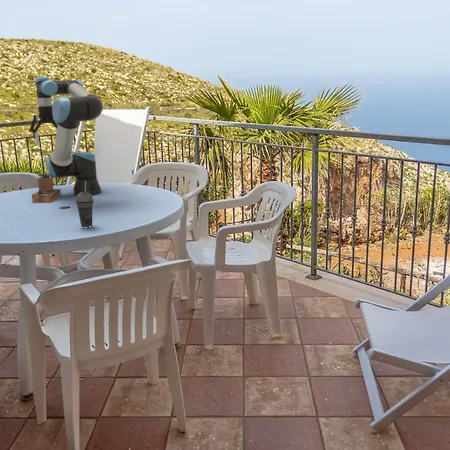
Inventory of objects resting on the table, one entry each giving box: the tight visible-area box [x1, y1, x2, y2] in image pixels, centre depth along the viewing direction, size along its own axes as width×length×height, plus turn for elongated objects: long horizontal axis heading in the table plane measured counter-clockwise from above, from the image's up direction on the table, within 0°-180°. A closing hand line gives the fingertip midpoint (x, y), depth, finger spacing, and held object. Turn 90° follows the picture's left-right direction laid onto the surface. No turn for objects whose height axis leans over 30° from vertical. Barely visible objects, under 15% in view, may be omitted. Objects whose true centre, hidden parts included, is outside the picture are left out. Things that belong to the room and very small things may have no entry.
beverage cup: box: [75, 181, 94, 228], centre depth 217 cm, size 7×7×20 cm
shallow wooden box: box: [31, 188, 62, 204], centre depth 271 cm, size 10×14×4 cm
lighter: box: [37, 172, 54, 193], centre depth 269 cm, size 8×3×10 cm, turn 84°
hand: (49, 144), depth 288 cm, fingers open, 13 cm apart
